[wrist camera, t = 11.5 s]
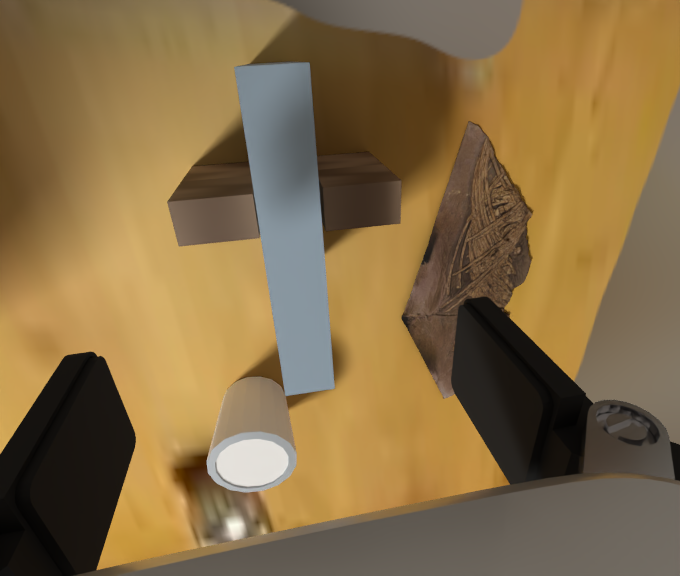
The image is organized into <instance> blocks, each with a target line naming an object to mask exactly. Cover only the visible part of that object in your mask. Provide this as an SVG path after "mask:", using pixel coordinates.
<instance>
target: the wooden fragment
mask: <svg viewBox="0 0 680 576" xmlns="http://www.w3.org/2000/svg"><path fill="white" fill-rule="evenodd" d="M531 216H532V213H531V212H530V210H529V209H528V208H527V206H526V204H525V202H523V201H522V199H521V197H520V194H519V191H518V190H517V189H516V188H515V186H514V185H513V184H511V183H510V182H509V179H508V177H507V175H506V172H505V171H504V169H503V168H502V166H501V164H499V163H498V161H497V159H496V157H495V156H494V152H493V148H492V146H491V144H490V142H489V138H488V136H487V135H485V133H484V132H483V131H482V130H481V129H480V128H479V126H478V125H475V124H473V123H471V122H470V121H469V122H468V126H467V129H466V132H465V135H464V137H463V140H462V143H461V147H460V149H459V153H458V156H457V158H456V162H455V165H454V168H453V171H452V173H451V176H450V180H449V183H448V185H447V188H446V192H445V194H444V197H443V200H442V203H441V205H440V209H439V212H438V215H437V218H436V221H435V224H434V227H433V230H432V234H431V237H430V240H429V244H428V247H427V249H426V252H425V255H424V258H423V261H422V263H421V266H420V269H419V271H418V274H417V276H416V279H415V283H414V285H413V290H412V292H411V295H410V296H411V298H409V300H408V302H407V305H406V308H405V311H404V313H403V315H402V320H403V322H404V324H405V325H406V327H407V328H408V331H409V333H410V335H411V336H412V338H413V340H414V342H415V344H416V346H417V348H418V349H419V352H420V353H421V356H422V357H423V359H424V361H425V363H426V365H427V367H428V369H429V370H430V373H431V375H432V377H433V379H434V380H435V382H436V384H437V386H438V388H439V390H440V392H441V393H442V395H443V398H444V399H445V398H448V397H450V396H452V395H454V394H455V393H454V391H453V388H452V384H451V375H452V365H453V355H454V345H455V335H456V325H457V315H458V308H459V306H460V305H463V304H464V301H465V300H466V299H470V298H477V297H484V296H486V297H488V298H490V299H491V300H492V301H493V302H494V303H495V304H496V305H497V306H498V307H499V308H500V309H501V310H502V311H504V307H505V306H506V305H507V304H508V302H509V301H510V298H511V296H512V289H513V288H515V287H517V286H519V285H521V284H522V283H523V282H524V281H525V279H526V276H527V274H528V271H529V266H530V263H531V260H530V257H529V255H528V251H529V249H528V246H527V244H528V241H527V239H526V235H527V230H526V223H527V221H528V220H529V219H530V218H531ZM404 314H406V315H404ZM505 314H506V315H507V316H508V317H509V314H507V313H505ZM407 315H410V316H407Z"/></svg>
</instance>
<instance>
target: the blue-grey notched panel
mask: <svg viewBox="0 0 680 576" xmlns="http://www.w3.org/2000/svg"><path fill="white" fill-rule="evenodd" d="M234 68H235V75H236V81H237V87H238V94H239V100H240V107H241V113H242V120H243V126H244V133H245V139H246V145H247V152H248V158H249V165H250V171H251V178H252V184H253V190H254V197H255V203H256V210H257V216H258V223H259V229H260V235H261V242H262V248H263V255H264V261H265V268H266V274H267V281H268V287H269V293H270V300H271V306H272V313H273V319H274V326H275V332H276V338H277V345H278V351H279V358H280V364H281V371H282V377H283V384H284V390H285V396H289V395H296V394H302V393H309V392H316V391H322V390H329V389H335V386H334V373H333V360H332V347H331V334H330V321H329V308H328V295H327V282H326V269H325V256H324V243H323V230H322V217H321V204H320V191H319V178H318V165H317V152H316V139H315V126H314V113H313V100H312V87H311V74H310V62H275V63H258V64H247V65H242V66H236V67H234Z"/></svg>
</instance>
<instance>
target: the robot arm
mask: <svg viewBox="0 0 680 576" xmlns="http://www.w3.org/2000/svg"><path fill="white" fill-rule="evenodd" d="M451 384H452V388H453V391H454V393H455V395H456V396H457V398H458V399H459V401H460V403H461V404H462V406H463V408H464V409H465V411H466V413H467V414H468V416H469V418H470V419H471V421H472V422H473V424H474V426H475V427H476V429H477V431H478V432H479V434H480V436H481V437H482V439H483V440H484V442H485V444H486V445H487V447H488V449H489V450H490V452H491V454H492V455H493V457H494V459H495V460H496V462H497V463H498V465H499V467H500V468H501V470H502V472H503V473H504V475H505V477H506V478H507V480H508V481H509V483H510V485H507V486H501V487H496V488H490V489H485V490H480V491H475V492H470V493H465V494H460V495H455V496H450V497H445V498H440V499H435V500H430V501H425V502H420V503H415V504H410V505H405V506H400V507H395V508H390V509H385V510H380V511H375V512H370V513H366V514H361V515H356V516H351V517H346V518H341V519H336V520H331V521H327V522H322V523H317V524H312V525H307V526H302V527H298V528H293V529H288V530H283V531H278V532H273V533H269V534H264V535H259V536H254V537H249V538H245V539H240V540H235V541H230V542H226V543H221V544H216V545H211V546H207V547H202V548H197V549H193V550H188V551H183V552H178V553H174V554H169V555H164V556H160V557H155V558H150V559H145V560H141V561H136V562H131V563H127V564H122V565H118V566H114V567H109V568H105V569H101V570H96V569H97V566H98V563H99V560H100V556H101V553H102V550H103V547H104V544H105V540H106V537H107V534H108V531H109V528H110V525H111V521H112V518H113V515H114V512H115V509H116V506H117V502H118V499H119V496H120V493H121V490H122V486H123V483H124V480H125V477H126V474H127V471H128V467H129V464H130V461H131V458H132V455H133V452H134V448H135V443H136V437H135V432H134V429H133V427H132V424H131V422H130V420H129V417H128V415H127V412H126V410H125V407H124V405H123V402H122V400H121V397H120V395H119V392H118V390H117V388H116V385H115V383H114V380H113V378H112V375H111V373H110V370H109V368H108V365H107V363H106V361H105V359H104V358H103V357H102V356H99V357H97V355H96V354H95V353H94V352H86V353H79V354H72V355H67V356H65V357H64V358H63V360H62V361H61V363H60V364H59V366H58V367H57V369H56V370H55V372H54V373H53V375H52V376H51V378H50V379H49V381H48V382H47V384H46V386H45V387H44V389H43V390H42V392H41V393H40V395H39V396H38V398H37V399H36V401H35V402H34V404H33V405H32V407H31V408H30V410H29V411H28V413H27V415H26V416H25V418H24V419H23V421H22V422H21V424H20V425H19V427H18V428H17V430H16V431H15V433H14V434H13V436H12V437H11V439H10V440H9V442H8V444H7V445H6V447H5V448H4V450H3V451H2V453H1V454H0V576H680V445H679V444H676V443H673V442H670V440H669V435H668V432H667V430H666V428H665V427H664V425H663V424H662V423H661V422H660V421H659V420H658V419H657V418H656V417H654V416H653V415H652V414H651V413H649V412H647V411H646V410H644V409H642V408H640V407H638V406H636V405H633V404H630V403H627V402H623V401H618V400H603V401H598V402H595V403H594V404H593V403H592V402H591V401H590V400H589V399H588V398H587V397H586V396H585V395H586V393H585V392H584V391H582V389H581V388H580V387H579V386H578V385H577V384H576V383H575V382H574V381H573V380H572V379H571V378H570V377H569V376H568V375H567V374H566V373H564V372H563V371H562V370H561V369H560V368H559V367H558V366H557V365H556V364H555V363H554V362H553V361H552V360H551V359H550V358H549V357H548V356H547V355H546V354H545V353H544V352H543V351H542V350H541V349H540V348H539V347H538V346H537V345H536V344H535V343H534V342H533V341H532V340H531V339H530V338H529V337H528V336H527V335H526V334H525V333H524V332H523V331H522V330H521V329H520V328H519V327H518V326H517V325H516V324H515V323H514V322H513V321H512V320H511V319H510V318H509V317H508V316H507V315H506V314H505V313H504V312H503V311H502V310H501V309H500V308H499V307H498V306H497V305H496V304H495V303H494V302H493V301H492V300H491V299H490V298H488V297H486V296H484V297H477V298H470V299H466V300H465V301H464V304H463V305H460V306H459V308H458V315H457V325H456V335H455V345H454V355H453V365H452V375H451Z"/></svg>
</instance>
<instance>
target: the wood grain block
mask: <svg viewBox="0 0 680 576" xmlns="http://www.w3.org/2000/svg"><path fill="white" fill-rule="evenodd" d="M317 165H318V178H319V191H320V204H321V217H322V222H323V225H324V227H325V230H326V231H333V230H342V229H352V228H362V227H371V226H381V225H391V224H400V221H401V180H400V179H399V178H398V177H397V176H396V175H395V174H393V173H392V172H391V171H390V170H389V169H388V168H387V167H386V166H384V165H383V164H382V163H381V162H380V161H379V160H378V159H377V158H375V157H374V156H373V155H372V154H371V153H370V152H361V153H349V154H337V155H325V156H317ZM167 203H168V207H169V211H170V214H171V218H172V222H173V226H174V230H175V234H176V238H177V241H178V245H179V246H187V245H197V244H207V243H216V242H226V241H236V240H246V239H255V238H259V235H260V229H259V223H258V216H257V210H256V203H255V197H254V190H253V184H252V178H251V171H250V165H249V162H240V163H228V164H216V165H204V166H192V167H191V169H190V170H189V172H188V173H187V175H186V176H185V177H184V179H183V180H182V182H181V183H180V184H179V186H178V187H177V189H176V190H175V192H174V193H173V194H172V196H171V197H170V199H169V200H168V202H167Z"/></svg>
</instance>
